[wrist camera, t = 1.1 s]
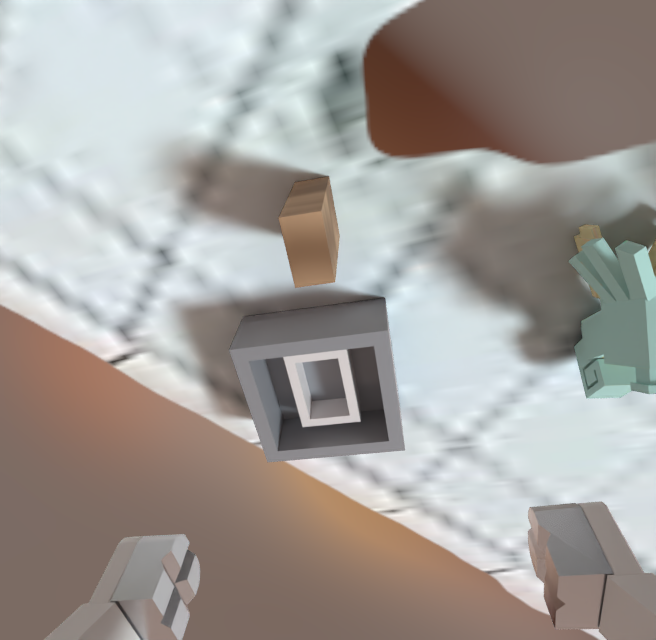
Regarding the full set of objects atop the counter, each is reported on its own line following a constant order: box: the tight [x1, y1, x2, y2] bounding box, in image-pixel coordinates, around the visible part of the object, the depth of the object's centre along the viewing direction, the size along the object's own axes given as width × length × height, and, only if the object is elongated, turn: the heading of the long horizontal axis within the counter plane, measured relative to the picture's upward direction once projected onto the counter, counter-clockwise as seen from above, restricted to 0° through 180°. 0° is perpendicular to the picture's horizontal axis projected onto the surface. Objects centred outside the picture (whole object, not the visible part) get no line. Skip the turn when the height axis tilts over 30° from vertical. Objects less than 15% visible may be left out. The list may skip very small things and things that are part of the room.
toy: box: [569, 224, 656, 399], centre depth 31 cm, size 10×13×15 cm
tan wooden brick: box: [279, 176, 340, 288], centre depth 31 cm, size 4×2×8 cm, turn 10°
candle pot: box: [229, 298, 405, 462], centre depth 40 cm, size 12×12×5 cm
